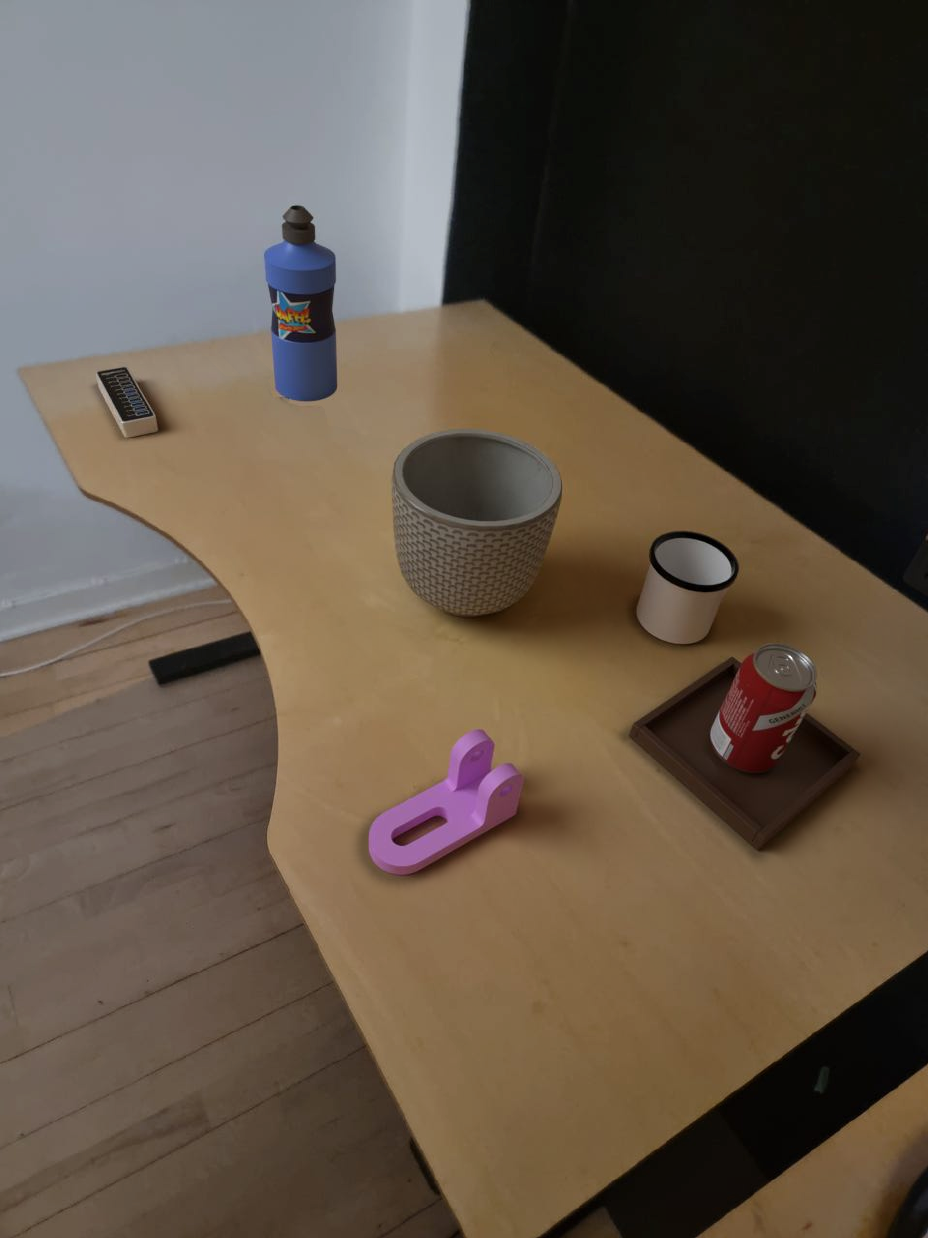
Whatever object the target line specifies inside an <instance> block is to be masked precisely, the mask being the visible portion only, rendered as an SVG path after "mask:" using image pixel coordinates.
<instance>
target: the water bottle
mask: <svg viewBox="0 0 928 1238" xmlns="http://www.w3.org/2000/svg"><path fill="white" fill-rule="evenodd" d="M282 219H283V220H284V222H282V224H281V233H282V239H283V241H282V242H280V243H277V244H274V245H272V246H270V247H268V248H267V249H266V250H264V253H263V260H264V261H263V262H264V273H265V274H264V275H265V282H266V283H267V286H268V292H269V298H270V303H271V307H272V309H271V324H270V335H271V349H272V362H273V376H274V388H275V391H276V392H277V393H278V394H279V395H281V396H282V397H283V398H285V399H289V400H291V401H296V402H305V403H306V402H317V401H322V400H325V399H327V398H329V397H331V396H333V395H334V394H335V392H337V388H338V357H337V354H338V353H337V350H338V349H337V329H336V324H335V318H334V312H333V306H334V295H335V286H336V285H335V284H336V283H337V282H336V281H337V258H336V254H335V252H334V251H332V250H331V249H330V248H328V247H326V246H324V245H321V244H319V243H316V241H315V240H316V226H315V224H314V223H313V220H314V216H313V215H312V214H311V212H309V210H308V209H306V207H305V206H303V205H299V204H297V205H296V204H295V205H291V206H290V207H289V208H288V209H287V210H286V212H284V214H283V215H282Z"/></svg>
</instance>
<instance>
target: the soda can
mask: <svg viewBox="0 0 928 1238" xmlns="http://www.w3.org/2000/svg"><path fill="white" fill-rule="evenodd" d="M741 663H742V664H741V666H740V668H739V670H738V672H737V674H736V677H735V679H734V681H733V683H732V685H731V687H730V689H729V692H728V694H727V696H726V698H725V700H724V702H723V704H722V707H721V709H720V711H719V713H718V715H717V717H716V719H715V722H714V724H713V726H712V728H711V731H710V743H711V746H712V748H713V750H714V751H715V753H716V754H717V755H718V757H719V758H720V759H721V760H722V761H724V762H725V763H726V764H728V765H729V766H731V767H733V768H735V769H737V770H740V771H743V772H748V773H762V772H765V771H768V770H770V769H772V768H773V767H774V766H775V765H776V764H777V762H778V761H779V759H780V757H781V755H782V754H783V752H784V750H785V749H786V747H787V745H788V743H789V742H790V740H791V738H792V736H793V735H794V733H795V731H796V730H797V728H798V726H799V724H800V723H801V721H802V719H803V717H804V716H805V714H806V713H808V710H810V707H811V706H812V703H813V702H814V700H815V699H816V696H817V692H818V687H817V682H816V681H817V679H818V671H817V670H818V669H817V666H816V665H815V663H814V662H813V660H812V659H811V658H810V657H809V656H808V655H807V654H805V652H803V651H802V650H800V649H798V648H796V647H795V646H791V645H788V644H786V643H779V642H770V643H765V644H762V645H760V646H759V647H758V648H756V650H755V652H752V653H751V654H748V656H746V657H745V658H744V659H743V660H742V662H741Z"/></svg>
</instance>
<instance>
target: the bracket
mask: <svg viewBox="0 0 928 1238" xmlns="http://www.w3.org/2000/svg"><path fill="white" fill-rule="evenodd" d="M495 746H496V745H495V742H494V741H493V739H492V738H491V737H490V736H489V734H487V732H486V731H485V730H484V729H481V728H477V729H473V730H471V731H469V732H467V733H465V734H464V735H463V736H462V737H460V738H459V739H458V740H457V741H456V743H455V744H454V745H453V747H452V748H451V750H450V754H449V762H448V763H449V765H448V772H447V776H446V778H445V779H444V780H443V781H441V782H438V783H437V784H435V785H433V786H431V787H429V788H427V789H426V790H424V791H422V792H420V793H418V794H416V795H414V796H412V797H410V798H409V799H407V800H405V801H402V802H401V803H399V804H397V805H395V806H393V807H392V808H390V809H387V810H386V811H384V812H382V813H381V814H380V815H378V816H377V817H376V818H375V819H374V821H373V822H372V824H371V826H370V828H369V831H368V852H369V856H370V857H371V859H372V861H373V863H374V864H375V866H377V867H378V868H379V869H381V870H382V871H384V872H386V873H389V874H392V875H398V876H405V875H412V874H414V873H416V872H418V871H420V870H422V869H424V868H426V867H427V866H429V865H431V864H432V863H434V862H436V861H438V860H440V859H441V858H443V857H445V856H446V855H448V854H450V853H451V852H454V851H455V850H457V849H459V848H460V847H462V846H464V845H465V844H467V843H470V842H471V841H472V840H475V839H476V838H478V837H479V836H481V835H483V834H485V833H487V832H488V831H489V830H491V829H493V828H495V827H497V826H498V825H500V824H502V823H503V822H506V821H507V820H509V819H510V818H513V817H514V816H516V815H517V811H518V806H519V801H520V798H521V794H522V789H523V785H524V781H525V778H524V776H523V774H522V773H521V772H520V771H519V770H518V769H517V768H516V766H515V765H514V764H513V763H512V762H505V763H502V764H500V765H498V766H496V767H495V768H493V769H492V764H493V763H492V762H493V757H494V752H495ZM491 769H492V770H491ZM434 817H442V818H444V819H445V820H446V822H445V823H444V824H442V825H441V826H439V827H437V828H434V829H433V830H432V831H430V832H427V833H426V834H424V835H422V836H421V837H419V838H417V839H415V840H414V841H412V842H410V843H408V844H406V845H398V844H396V843H395V842H394V841H393V840H394V839H395V838H396V837H398V836H400V835H402V834H403V833H405V832H407V831H409V830H411V829H413V828H415V827H416V826H418V825H420V824H422V823H424V822H426V821H428V820H429V819H431V818H434Z"/></svg>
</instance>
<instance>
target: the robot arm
mask: <svg viewBox="0 0 928 1238" xmlns="http://www.w3.org/2000/svg"><path fill="white" fill-rule="evenodd" d="M902 581H903V582H904V583H905V584H906V585H908V586H910V587H912V588H913V589H915V590H917V591H918V592H920V593H921V594H923V595H925V596H927V597H928V534H926V536H925V537H924V539H923V540H922V542H921V544H920V546H919V547H918V549H917V551H916V553H915V555H914V556H913V558H912V560H911V561H910V563H909V565H908V567H907V568H906V570H905V572H904V574H903V575H902Z"/></svg>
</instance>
